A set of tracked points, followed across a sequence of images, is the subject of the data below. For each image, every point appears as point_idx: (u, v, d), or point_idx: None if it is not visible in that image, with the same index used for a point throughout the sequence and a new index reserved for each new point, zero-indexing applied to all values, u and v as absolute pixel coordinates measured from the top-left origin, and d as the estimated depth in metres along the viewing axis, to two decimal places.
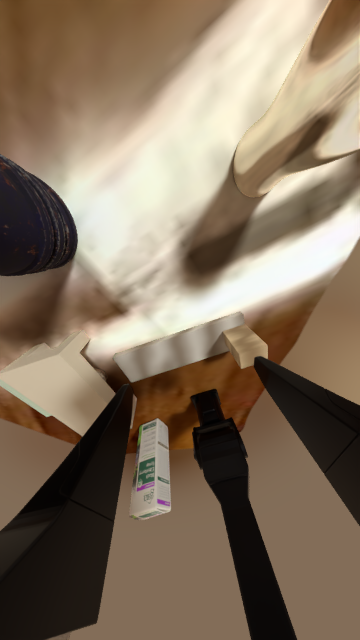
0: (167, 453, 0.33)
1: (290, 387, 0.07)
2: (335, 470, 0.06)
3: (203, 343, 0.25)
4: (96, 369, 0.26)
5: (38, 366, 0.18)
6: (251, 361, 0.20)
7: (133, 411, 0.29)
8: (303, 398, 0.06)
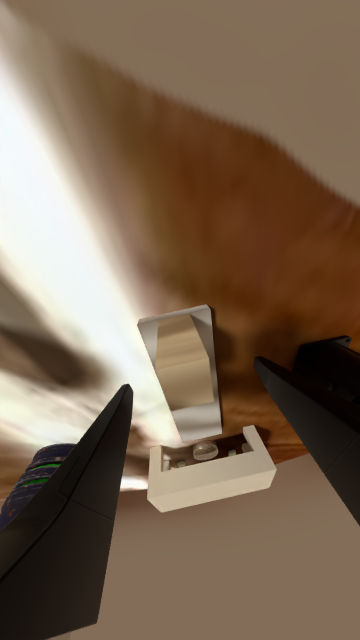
0: None
1: (290, 387, 0.07)
2: (335, 470, 0.06)
3: None
4: (195, 446, 0.27)
5: (157, 503, 0.22)
6: (198, 389, 0.09)
7: (261, 446, 0.23)
8: (303, 398, 0.06)
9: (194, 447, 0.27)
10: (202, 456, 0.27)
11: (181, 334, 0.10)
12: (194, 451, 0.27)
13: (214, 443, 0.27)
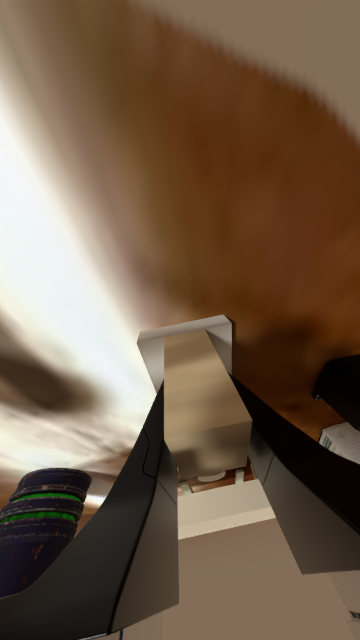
0: None
1: None
2: (267, 485, 0.06)
3: None
4: None
5: None
6: (226, 455, 0.06)
7: None
8: None
9: None
10: (207, 478, 0.25)
11: (198, 363, 0.07)
12: None
13: None
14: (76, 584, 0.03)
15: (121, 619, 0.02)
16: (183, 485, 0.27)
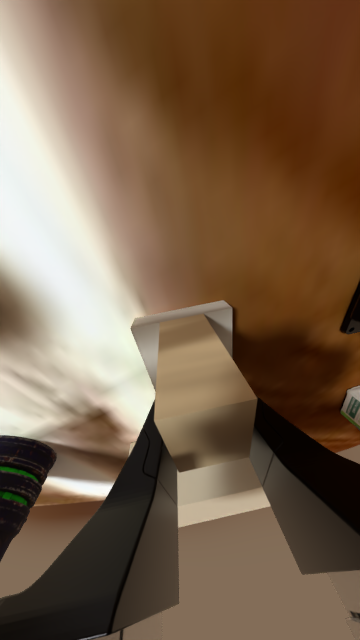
0: None
1: None
2: (267, 485, 0.06)
3: None
4: None
5: None
6: (227, 443, 0.05)
7: None
8: None
9: None
10: None
11: (195, 344, 0.06)
12: None
13: None
14: (76, 584, 0.03)
15: (121, 619, 0.02)
16: None
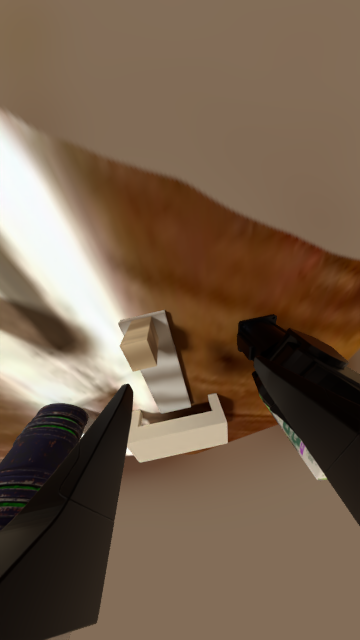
0: None
1: (290, 387, 0.07)
2: (335, 470, 0.06)
3: None
4: None
5: (134, 451, 0.28)
6: (145, 357, 0.16)
7: (219, 407, 0.29)
8: (303, 398, 0.06)
9: None
10: None
11: (140, 328, 0.17)
12: None
13: None
14: None
15: None
16: None
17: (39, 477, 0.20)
